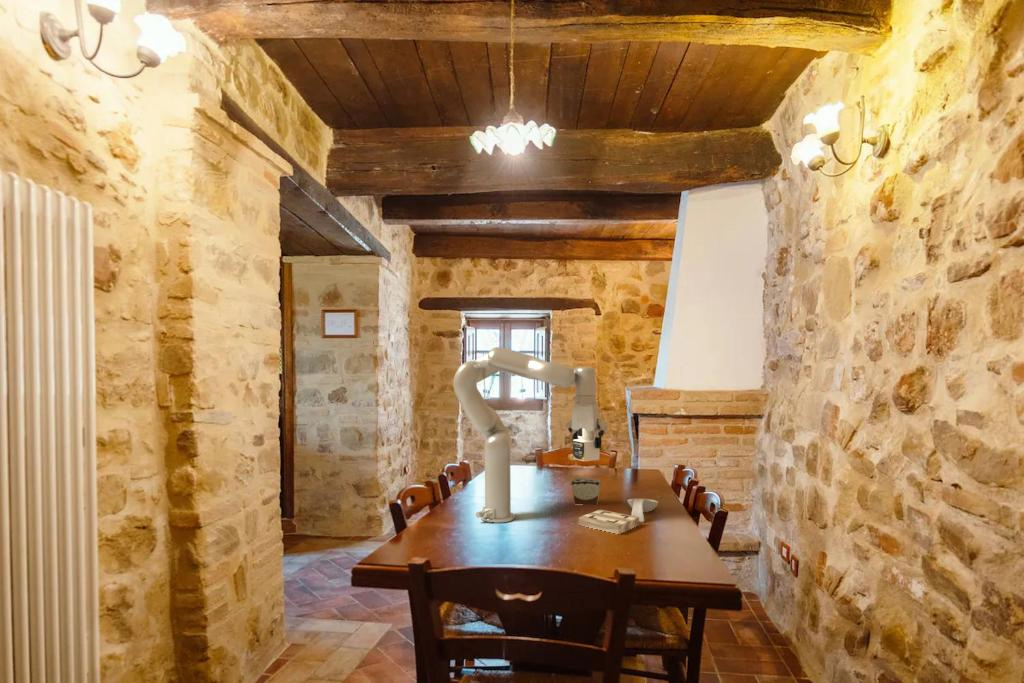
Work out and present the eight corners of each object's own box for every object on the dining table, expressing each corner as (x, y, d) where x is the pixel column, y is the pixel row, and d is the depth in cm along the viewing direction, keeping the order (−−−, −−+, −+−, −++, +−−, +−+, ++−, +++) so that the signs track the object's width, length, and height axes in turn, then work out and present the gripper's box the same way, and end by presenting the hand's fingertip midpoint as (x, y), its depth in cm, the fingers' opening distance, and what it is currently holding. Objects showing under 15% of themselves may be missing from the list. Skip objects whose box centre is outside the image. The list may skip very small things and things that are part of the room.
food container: (600, 502, 227) (600, 477, 228) (601, 505, 221) (601, 480, 222) (570, 501, 229) (570, 477, 229) (570, 505, 222) (570, 480, 223)
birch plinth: (618, 534, 183) (618, 525, 183) (578, 525, 193) (578, 516, 194) (639, 525, 193) (639, 516, 193) (600, 517, 204) (600, 508, 204)
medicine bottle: (572, 458, 203) (572, 426, 204) (588, 457, 207) (588, 425, 207) (584, 461, 197) (583, 428, 198) (600, 460, 200) (599, 427, 201)
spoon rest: (629, 506, 222) (629, 488, 222) (659, 508, 218) (659, 490, 219) (621, 521, 200) (621, 501, 200) (655, 524, 196) (654, 504, 196)
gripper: (560, 400, 206) (561, 446, 205) (600, 401, 195) (602, 450, 194) (571, 399, 212) (572, 444, 211) (611, 400, 200) (612, 447, 200)
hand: (586, 446), depth 202 cm, fingers closed on medicine bottle, 9 cm apart
